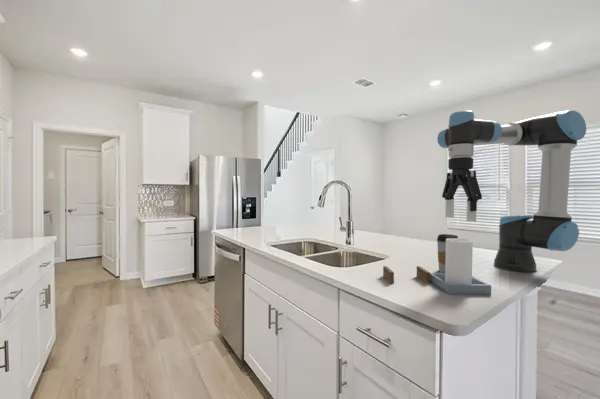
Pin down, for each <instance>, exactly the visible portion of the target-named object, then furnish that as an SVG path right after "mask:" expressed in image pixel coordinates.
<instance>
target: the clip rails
mask: <svg viewBox="0 0 600 399" xmlns="http://www.w3.org/2000/svg"><path fill="white" fill-rule="evenodd" d="M382 269H383V271H382V272H383V274H382V276H383V278H384V279H385V280H386V281H387V282H388V283H389V284H394V283H395V281H394V280H395V272H394V271H393V270H392V269H391V268H389V267H388V266H387V265H383V267H382ZM430 273H431V272H430V271H429V270H427V269H425V268H423V267H422V266H419V265H416V278H418V279H420V280H421V281H422V282H424V283H426V284H431V282H430Z"/></svg>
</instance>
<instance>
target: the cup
mask: <svg viewBox="0 0 600 399" xmlns="http://www.w3.org/2000/svg"><path fill="white" fill-rule="evenodd" d="M473 245H474V242H473V240H472V239H465V238H461V237H460V238H459V237H458V238H448V239H446V257H445V272H444V273H445V282H447V283H449V284H472V276H473Z"/></svg>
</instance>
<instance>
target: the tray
mask: <svg viewBox="0 0 600 399" xmlns="http://www.w3.org/2000/svg"><path fill="white" fill-rule="evenodd" d="M430 284H432V285H434V286H435V287H437V288H438V289H439V290H441V291H442V292H444V293H446V294H447V295H452V296H455V295H456V296H457V295H458V296H459V295H464V296H465V295H479V296H480V295H492V285H491V284H489V283H488V282H485V281H483V280H481V279H479V278H477V277H475V276H473V275H472V284H449V283H447V282H445V272H439V273H438V272H437V273H436V272H434V273H431V272H430Z"/></svg>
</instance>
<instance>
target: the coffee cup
mask: <svg viewBox="0 0 600 399" xmlns="http://www.w3.org/2000/svg"><path fill="white" fill-rule="evenodd" d="M448 238H459V237H458V235H457V234H456V235H455V234H447V233H445V234H444V233H440V234H438V235H437V237H436V242H437V262H438V269H439V272H440V273H445V257H446V239H448Z"/></svg>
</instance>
